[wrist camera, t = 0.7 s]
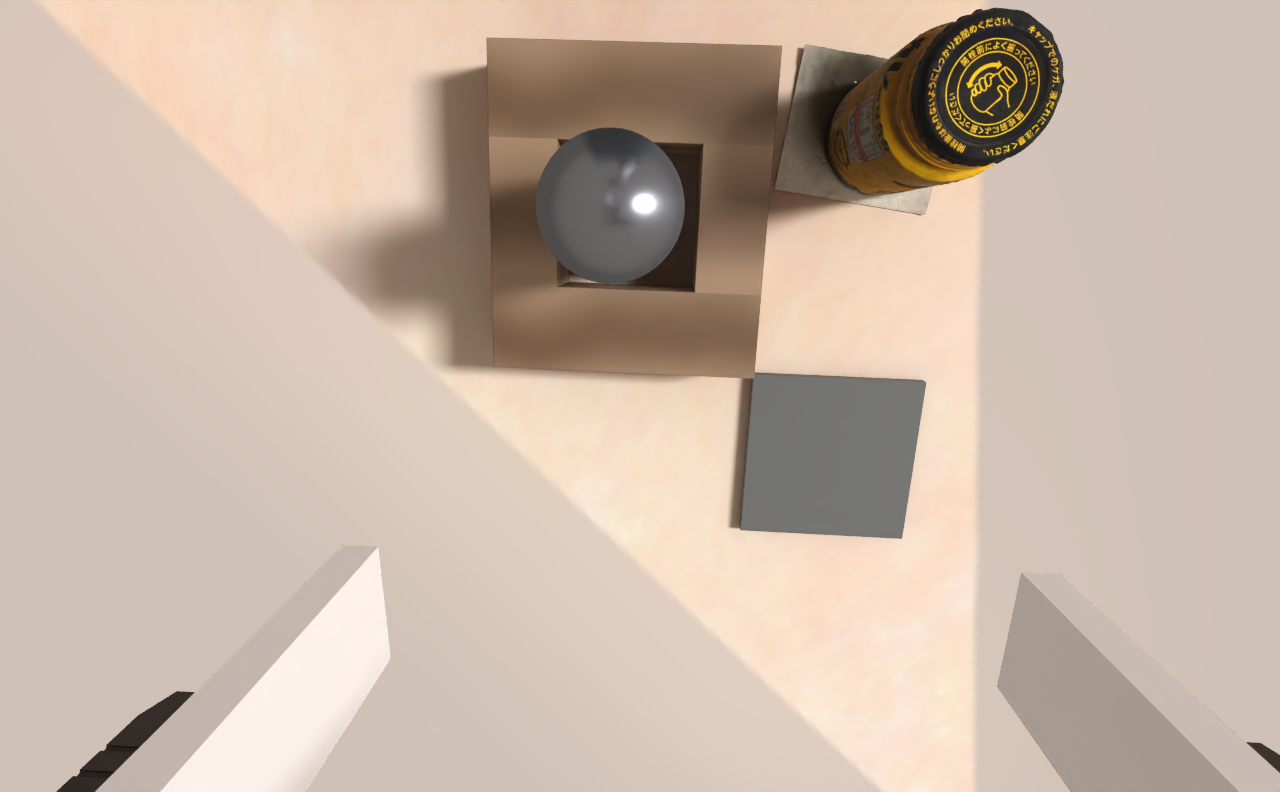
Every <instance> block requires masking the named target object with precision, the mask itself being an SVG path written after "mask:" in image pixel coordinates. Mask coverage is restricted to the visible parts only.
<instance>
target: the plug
mask: <svg viewBox="0 0 1280 792" xmlns="http://www.w3.org/2000/svg"><path fill="white" fill-rule="evenodd" d="M684 212H685V200H684V192H683V187H682V184H681V180H680V178H679V175H678V173H677V170H676V169H675V167H674V165H673V163H672V162H671V160H670V159H669V158H668V156H667V155H666V154H665V152H664V151H663V150H662V149H661V148H660V147H659V146H657V145H656V144H655V143H654V142H652V141H651V140H650V139H648V138H646V137H644V136H643V135H641V134H638V133H636V132H633V131H630V130H626V129H622V128H613V127H608V128H598V129H592V130H589V131H586V132H583V133H581V134H579V135H577V136H575V137H573V138H571V139H570V140H569V141H567V142H566V143H564V144H563V145H562V146H561V147H560V148H559V149H558V150H557V151H556V152H555V153H554V154H553V156H552V157H551V158H550V160H549V161H548V163H547V165H546V166H545V168H544V170H543V173H542V175H541V178H540V181H539V184H538V189H537V194H536V216H537V221H538V226H539V229H540V232H541V235H542V237H543V239H544V241H545V243H546V245H547V247H548V248H549V250H550V251H551V253H552V254H553V255H554V256H555V258H556V259H557V260H558V261H559V262H560V263H561V264H562V265H563V266H564V267H566V268H567V269H569V270H570V271H571V272H573V273H575V274H576V275H578V276H580V277H583V278H585V279H588V280H591V281H595V282H599V283H622V282H628V281H631V280H634V279H637V278H639V277H641V276H644V275H646V274H647V273H649V272H650V271H652V270H653V269H655V268H656V267H657V266H658V265H659V264H661V263H662V261H663V260H664V259H665V258H666V257H667V256H668V255H669V253H670V252H671V250H672V249H673V247H674V245H675V244H676V242H677V240H678V237H679V235H680V232H681V229H682V225H683V221H684Z"/></svg>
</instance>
